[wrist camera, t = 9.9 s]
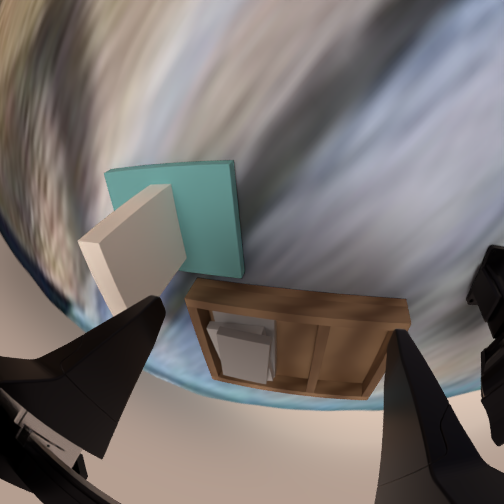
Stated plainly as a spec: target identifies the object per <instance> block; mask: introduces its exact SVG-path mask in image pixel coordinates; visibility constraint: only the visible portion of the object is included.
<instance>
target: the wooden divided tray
mask: <svg viewBox="0 0 504 504" xmlns="http://www.w3.org/2000/svg"><path fill="white" fill-rule="evenodd" d="M184 299H185V302H186V305H187V308H188V311H189V314H190V317H191V320H192V323H193V326H194V329H195V332H196V335H197V338H198V341H199V344H200V346H201V349H202V352H203V355H204V357H205V360H206V363H207V366H208V368H209V371H210V373H211V376H212V379H214V380H218V381H222V382H227V383H231V384H236V385H241V386H246V387H251V388H257V389H262V390H268V391H274V392H281V393H288V394H295V395H304V396H313V397H323V398H335V399H351V400H367V399H368V398H369V397H370V395H371V394H372V392H373V390H374V389H375V387H376V386H377V384H378V383H379V381H380V380H381V378H382V376H383V375H384V373H385V370H386V357H387V346H388V342H389V340H390V338H391V335H392V333H393V331H394V330H395V329H405V330H406V331H408V329H409V327H410V325H411V320H410V315H409V310H408V305H407V301H406V299H398V298H383V297H370V296H358V295H346V294H335V293H324V292H314V291H304V290H294V289H284V288H275V287H266V286H258V285H249V284H241V283H233V282H225V281H217V280H210V279H202V278H197V279H196V280H195V282H194V284H193V285H192V287H191V289H190V290H189V292H188V293H187V295H186V297H185V298H184ZM212 311H217V312H223V313H229V314H235V315H242V316H249V317H256V318H263V319H270V320H276V325H277V363H276V375H275V377H274V378H273V381H267V383H266V384H261V383H256V382H252V381H247V380H243V379H238V378H234V377H230V376H226V375H223V370H222V365H221V360H220V358H219V355H218V353H217V351H216V349H215V347H214V344H213V342H212V340H211V338H210V335H209V333H208V331H207V329H206V328H207V326H208V324H209V322H210V321H214V322H215V320H214V316H213V312H212Z"/></svg>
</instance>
